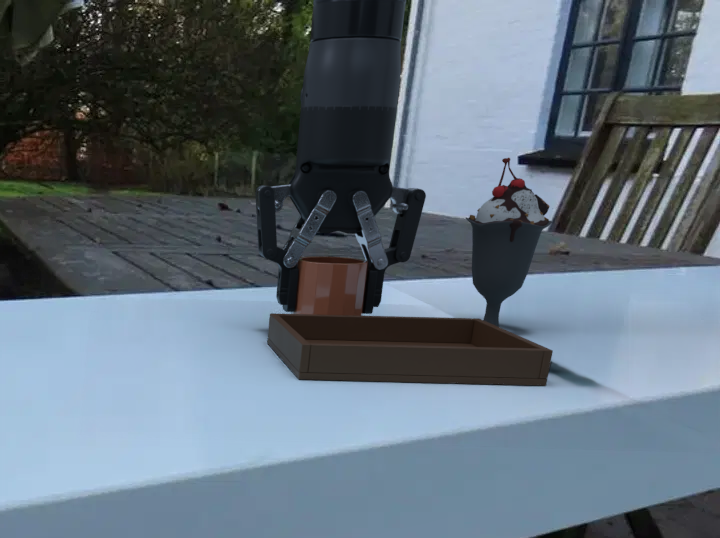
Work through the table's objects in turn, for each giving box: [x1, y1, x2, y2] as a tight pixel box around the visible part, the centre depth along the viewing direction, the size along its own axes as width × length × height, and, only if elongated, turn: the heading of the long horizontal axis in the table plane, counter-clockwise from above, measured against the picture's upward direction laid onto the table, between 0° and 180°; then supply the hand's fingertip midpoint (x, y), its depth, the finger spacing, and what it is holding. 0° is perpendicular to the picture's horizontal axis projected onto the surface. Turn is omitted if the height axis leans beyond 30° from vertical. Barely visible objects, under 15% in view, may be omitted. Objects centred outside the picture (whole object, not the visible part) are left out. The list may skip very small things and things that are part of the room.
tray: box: [267, 313, 554, 387], centre depth 70 cm, size 17×13×2 cm
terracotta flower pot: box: [290, 255, 369, 316], centre depth 80 cm, size 6×6×6 cm
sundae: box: [465, 157, 553, 327], centre depth 77 cm, size 7×7×15 cm
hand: (327, 310), depth 80 cm, fingers closed on terracotta flower pot, 6 cm apart
